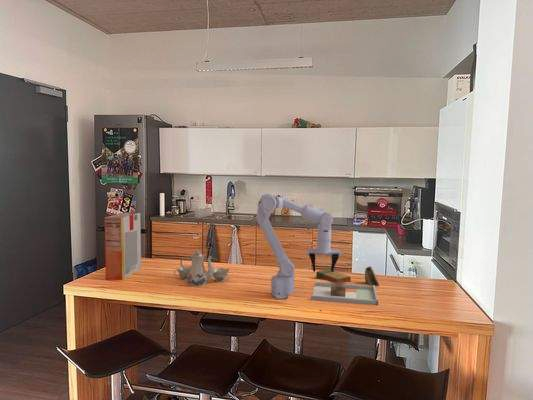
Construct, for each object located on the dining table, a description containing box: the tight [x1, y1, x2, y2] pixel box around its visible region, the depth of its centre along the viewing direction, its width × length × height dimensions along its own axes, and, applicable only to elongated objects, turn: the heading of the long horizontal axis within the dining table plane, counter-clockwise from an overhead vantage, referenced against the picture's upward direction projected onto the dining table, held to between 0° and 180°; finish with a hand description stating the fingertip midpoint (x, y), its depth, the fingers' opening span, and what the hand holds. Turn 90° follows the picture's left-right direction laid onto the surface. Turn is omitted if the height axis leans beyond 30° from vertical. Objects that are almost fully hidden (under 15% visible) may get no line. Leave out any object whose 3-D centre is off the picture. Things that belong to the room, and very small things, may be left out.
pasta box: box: [104, 211, 142, 281], centre depth 192 cm, size 23×8×30 cm, turn 176°
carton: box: [315, 269, 352, 283], centre depth 183 cm, size 8×16×4 cm, turn 30°
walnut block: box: [330, 281, 347, 297], centre depth 160 cm, size 6×6×4 cm
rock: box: [364, 265, 380, 287], centre depth 177 cm, size 11×9×10 cm
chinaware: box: [173, 249, 230, 287], centre depth 180 cm, size 28×17×17 cm, turn 85°
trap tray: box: [310, 281, 379, 306], centre depth 159 cm, size 26×20×4 cm
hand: (323, 271), depth 162 cm, fingers open, 7 cm apart
